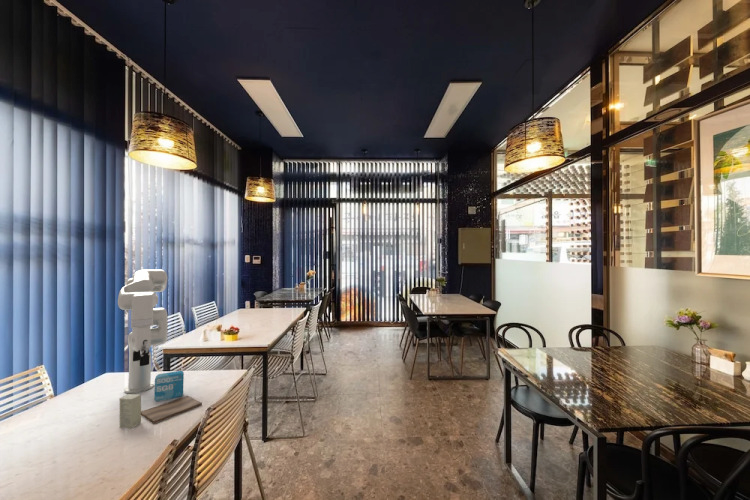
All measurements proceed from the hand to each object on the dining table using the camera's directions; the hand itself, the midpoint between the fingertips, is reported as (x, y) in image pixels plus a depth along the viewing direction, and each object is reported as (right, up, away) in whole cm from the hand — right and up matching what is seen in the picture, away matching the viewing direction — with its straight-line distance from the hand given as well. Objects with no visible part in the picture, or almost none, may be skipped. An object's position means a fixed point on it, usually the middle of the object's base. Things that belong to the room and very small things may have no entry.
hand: (140, 362), depth 130 cm
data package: (-4, -27, +23) cm, 35 cm away
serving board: (+6, -26, +11) cm, 29 cm away
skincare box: (-3, -26, -3) cm, 26 cm away
